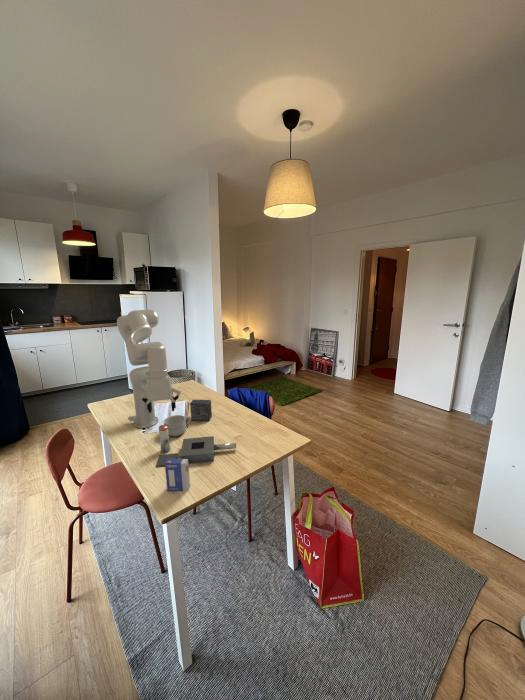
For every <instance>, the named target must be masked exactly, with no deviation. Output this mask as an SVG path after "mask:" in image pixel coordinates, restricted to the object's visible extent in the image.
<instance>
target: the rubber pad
mask: <svg viewBox="0 0 525 700" xmlns="http://www.w3.org/2000/svg"><path fill="white" fill-rule="evenodd" d="M178 457H179V453H178V452H177V453H175V452H174V453H162V454H158V458H157V461H156V465H155V468H159V467H165V462H166V460H167V459H178Z"/></svg>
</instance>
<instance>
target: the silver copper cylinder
mask: <svg viewBox="0 0 525 700" xmlns="http://www.w3.org/2000/svg"><path fill="white" fill-rule="evenodd" d="M158 433H159V443H160V444H159V445H160V446H159V447H160V453H162V454H168V453H169V452H170V451H171V444H170V435H169V431H168V425H164V424H160V425H159V426H158Z"/></svg>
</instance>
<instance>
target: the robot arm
mask: <svg viewBox="0 0 525 700" xmlns="http://www.w3.org/2000/svg"><path fill="white" fill-rule="evenodd" d="M159 321H160V320H159V315H158V313H157V312H156V310H154V309H137V310H135V309H134V310H131V311H130V312H128V314H124V315H120V316H119V317H117V320H116V325H117V329H118V332H119V335H121V337H122V339H123V341H124V343H125V348H126V352H127V357H128V361H129V363H130V365H132V366H135V367H136V368H133V369H132V370H130V372H129V374H128V375H129V380H130V383H131V388H132V393H133V394H132V395H133V401H134V409H135V410H134V411H135V415H133V416H128V417H127V419H128V421H129V422H133V426H134V427H135V428H138V429H144V428H145V429H146V428H150V427H153V426H155V425H157V423H159V417H158V416H156V414H155V413H156V412H155V403H154V402H155V401H168V400H170V401H171V403H170V404H171V411H172V412H174V411H175V409H176V406H177V405H176V401H177V400H178V399H179V398H180V395H181V393H182V391H181V390H179V389H177V388H173V384H172V379H171V377H170V375H169V374H168V362H167V350H166V347H165V345H164V343H163V342H160V341H152V342H144V341H146V340H147V339H148V338H150V337H151V335H152V333H153V328H155V327H157V325H159ZM144 365H145V366H144ZM146 365H147V366H146ZM137 366H142V367H137ZM174 393H175V394H176V395H175V396H174V395H173V394H174Z"/></svg>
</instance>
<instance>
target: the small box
mask: <svg viewBox="0 0 525 700" xmlns="http://www.w3.org/2000/svg"><path fill="white" fill-rule="evenodd" d="M189 407H190V417H191V421H192V422H210V421H211V419H212V417H213V414H212V400H211V399H192V400H191V402H190V403H189ZM191 421H190V422H191Z"/></svg>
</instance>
